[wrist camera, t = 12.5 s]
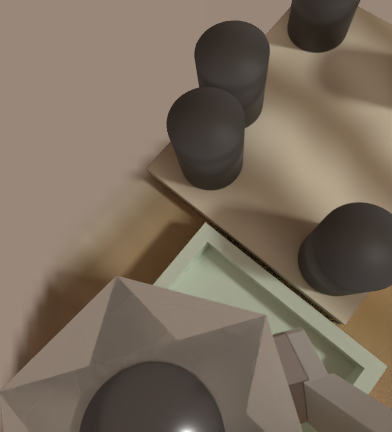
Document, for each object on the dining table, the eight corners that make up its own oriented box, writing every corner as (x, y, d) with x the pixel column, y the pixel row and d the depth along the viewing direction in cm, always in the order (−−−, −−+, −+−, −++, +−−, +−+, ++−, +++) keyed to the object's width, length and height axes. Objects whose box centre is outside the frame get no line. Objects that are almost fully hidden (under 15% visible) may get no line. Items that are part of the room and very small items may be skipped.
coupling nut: (188, 429, 16) (126, 741, 5) (122, 355, 17) (-72, 458, 5) (265, 344, 17) (380, 425, 5) (197, 277, 18) (169, 221, 6)
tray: (238, 550, 19) (239, 577, 17) (79, 383, 22) (63, 390, 20) (373, 361, 20) (387, 366, 18) (207, 229, 23) (205, 222, 21)
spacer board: (340, 324, 21) (380, 328, 15) (144, 169, 25) (116, 126, 19) (505, 100, 23) (594, 31, 18) (304, -9, 27) (323, -97, 21)
